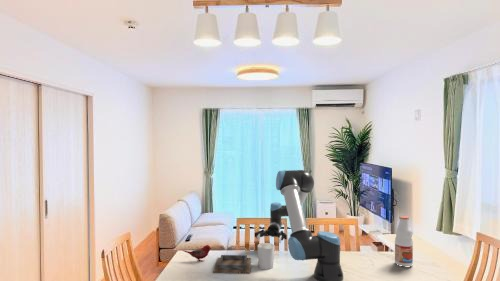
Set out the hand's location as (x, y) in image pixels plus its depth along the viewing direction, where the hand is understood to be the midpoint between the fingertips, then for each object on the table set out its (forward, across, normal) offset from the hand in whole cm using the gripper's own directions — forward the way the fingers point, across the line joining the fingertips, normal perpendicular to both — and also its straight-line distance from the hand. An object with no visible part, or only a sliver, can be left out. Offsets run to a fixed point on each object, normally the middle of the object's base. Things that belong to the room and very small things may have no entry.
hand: (268, 240), depth 199 cm
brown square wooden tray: (+14, +18, -12) cm, 26 cm away
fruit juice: (-10, -78, -12) cm, 79 cm away
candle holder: (+10, 0, -12) cm, 16 cm away
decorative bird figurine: (+12, +41, -12) cm, 45 cm away
